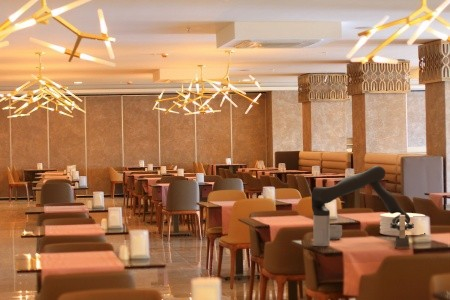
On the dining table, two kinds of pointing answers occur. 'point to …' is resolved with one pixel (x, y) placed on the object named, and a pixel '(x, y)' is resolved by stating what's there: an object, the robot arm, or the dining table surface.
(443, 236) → the dining table surface
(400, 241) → the dark grey block
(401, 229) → the slat
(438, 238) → the dining table surface
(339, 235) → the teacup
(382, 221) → the plate stack
